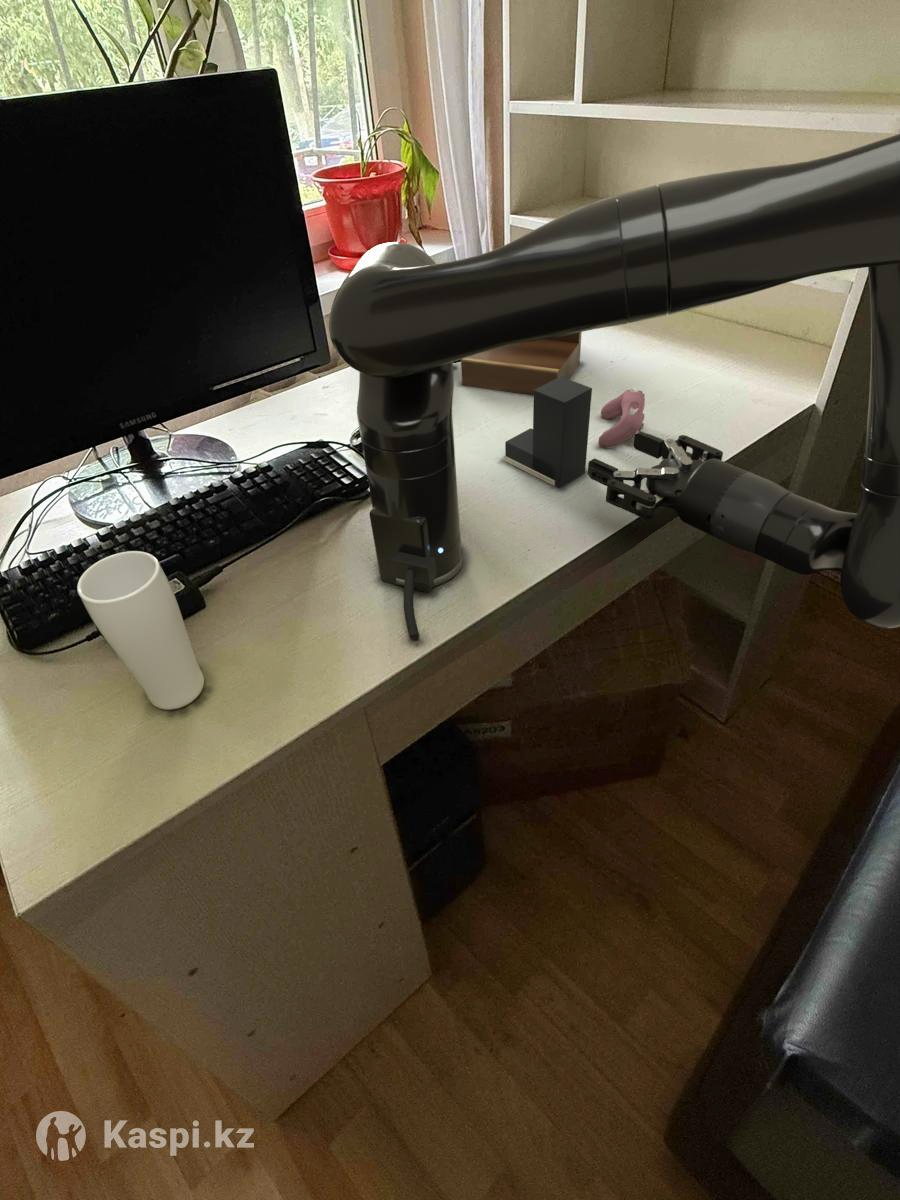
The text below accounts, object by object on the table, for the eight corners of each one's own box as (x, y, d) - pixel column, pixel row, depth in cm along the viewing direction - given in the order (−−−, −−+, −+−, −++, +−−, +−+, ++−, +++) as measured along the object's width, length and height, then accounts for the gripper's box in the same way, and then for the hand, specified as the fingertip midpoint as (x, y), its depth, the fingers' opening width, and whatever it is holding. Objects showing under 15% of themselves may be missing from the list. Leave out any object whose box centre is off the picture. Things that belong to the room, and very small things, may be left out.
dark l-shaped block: (585, 472, 91) (592, 387, 83) (559, 489, 88) (564, 402, 80) (530, 446, 97) (531, 364, 88) (504, 460, 94) (503, 378, 86)
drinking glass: (128, 700, 66) (58, 585, 56) (182, 656, 70) (126, 540, 60) (173, 729, 63) (108, 613, 53) (227, 681, 67) (176, 565, 57)
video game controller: (623, 460, 95) (653, 420, 90) (595, 446, 94) (623, 405, 90) (624, 425, 102) (652, 387, 97) (598, 412, 101) (624, 372, 97)
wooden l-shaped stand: (555, 398, 107) (559, 320, 99) (462, 385, 112) (457, 310, 104) (579, 364, 115) (584, 290, 107) (491, 353, 121) (489, 282, 113)
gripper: (780, 449, 73) (653, 402, 82) (703, 505, 67) (575, 447, 76) (762, 507, 78) (645, 456, 87) (689, 564, 72) (571, 503, 81)
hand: (613, 452), depth 82 cm, fingers open, 8 cm apart
